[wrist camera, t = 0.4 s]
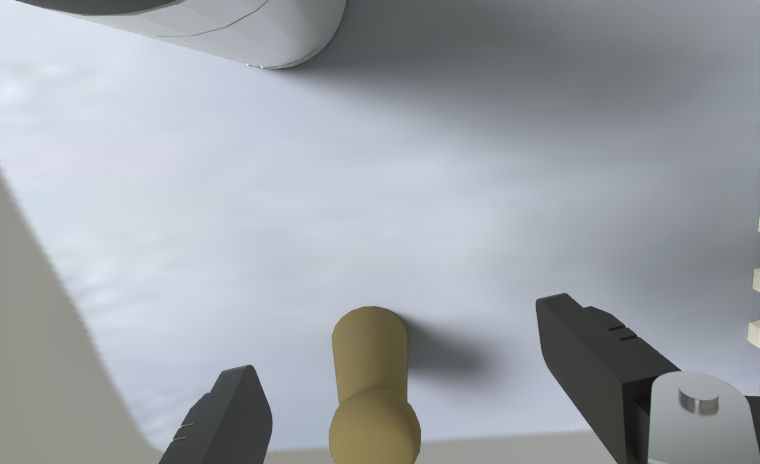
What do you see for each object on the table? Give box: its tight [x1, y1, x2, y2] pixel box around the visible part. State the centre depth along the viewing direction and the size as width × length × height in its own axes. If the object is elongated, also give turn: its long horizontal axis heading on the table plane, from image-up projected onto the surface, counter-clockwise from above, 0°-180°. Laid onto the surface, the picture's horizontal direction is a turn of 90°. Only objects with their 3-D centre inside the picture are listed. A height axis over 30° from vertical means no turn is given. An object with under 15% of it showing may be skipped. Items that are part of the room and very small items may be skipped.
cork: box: [329, 306, 421, 464], centre depth 26 cm, size 6×6×11 cm
